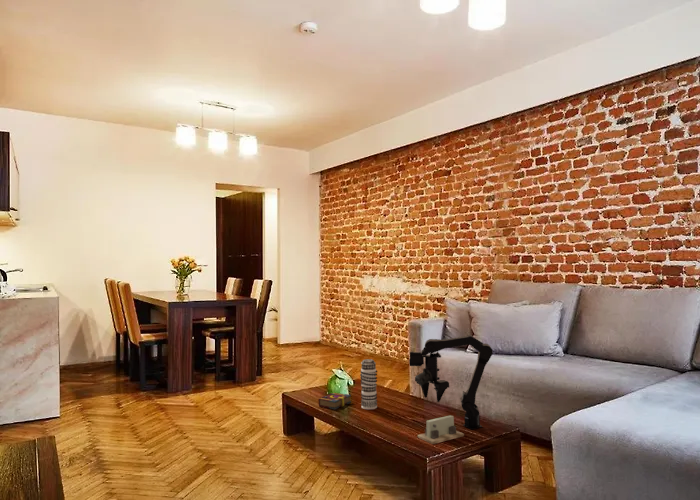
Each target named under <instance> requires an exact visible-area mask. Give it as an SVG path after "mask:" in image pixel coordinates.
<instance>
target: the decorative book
mask: <svg viewBox="0 0 700 500" xmlns="http://www.w3.org/2000/svg"><path fill="white" fill-rule="evenodd" d="M350 398H351V394H348V393H338V392H333V393H329V394H328V395H322V396H321V397H320V398H318V406H319V407H323V408H327V409H331V410H338V409H339V408H340V407H344V406H345V405H348V404H350V403H352V400H350Z"/></svg>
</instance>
